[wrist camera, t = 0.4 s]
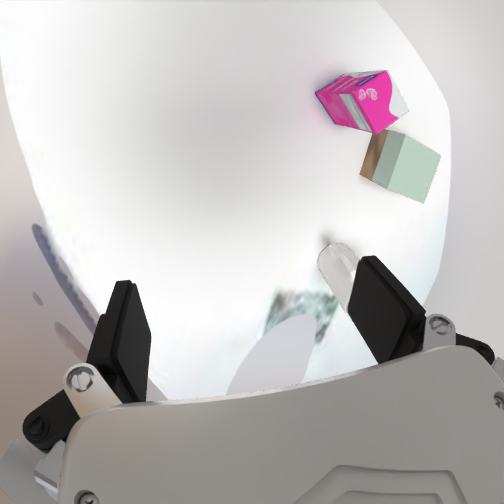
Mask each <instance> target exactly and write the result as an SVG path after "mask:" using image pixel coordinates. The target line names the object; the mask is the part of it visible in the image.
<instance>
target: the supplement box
mask: <svg viewBox="0 0 504 504" xmlns="http://www.w3.org/2000/svg"><path fill="white" fill-rule="evenodd" d="M315 94H316V96H317V97H318V98H319V100H320V101H321V103H322V104H323V106H324V108H325V109H326V111H327V112H328V114H329V115H330V117H331V118H332V120H333V121H334V123H335V124H337V125H342V126H347V127H351V128H355V129H359V130H363V131H367V132H371V133H374V134H378V133H379V132H381V131H382V130H384V129H385V128H386V127H388V126H389V125H391V124H392V123H393V122H395V121H396V120H398V119H399V118H400V117H402V116H403V115H404V114H406V113H407V112H409V110H408V108H407V106H406V104H405V102H404V100H403V98H402V96H401V94H400V92H399V90H398V88H397V86H396V85H395V83H394V81H393V79H392V77H391V75H390V74H389V72H388V70H382V71H369V72H359V73H350V74H344V75H342V76H341V77H339V78H338V79H336V80H335V81H333V82H332V83H330V84H328V85H327V86H325V87H324V88H322V89H320V90H319V91H317V92H315Z"/></svg>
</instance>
